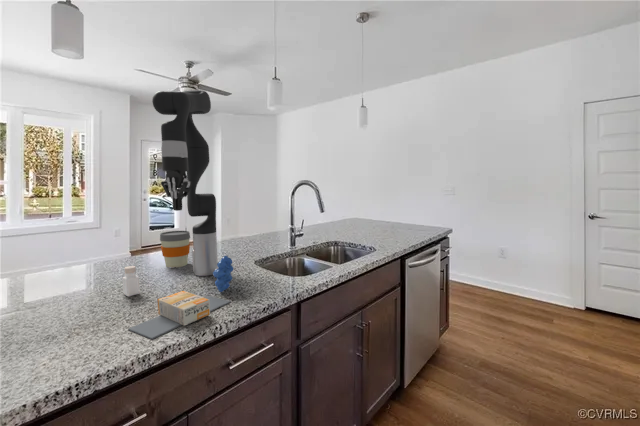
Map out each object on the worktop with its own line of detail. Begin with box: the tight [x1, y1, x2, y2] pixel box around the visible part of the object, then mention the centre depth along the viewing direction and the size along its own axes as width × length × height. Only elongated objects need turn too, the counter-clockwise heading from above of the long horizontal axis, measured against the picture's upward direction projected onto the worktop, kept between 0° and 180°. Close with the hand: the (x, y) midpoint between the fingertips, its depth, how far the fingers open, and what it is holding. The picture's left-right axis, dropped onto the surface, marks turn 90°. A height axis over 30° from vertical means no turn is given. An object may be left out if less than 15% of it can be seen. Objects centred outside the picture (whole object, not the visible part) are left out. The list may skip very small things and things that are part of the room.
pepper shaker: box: [122, 265, 141, 297], centre depth 104 cm, size 4×4×10 cm
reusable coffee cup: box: [159, 230, 191, 269], centre depth 140 cm, size 13×13×15 cm
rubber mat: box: [128, 295, 231, 340], centre depth 88 cm, size 10×26×1 cm, turn 151°
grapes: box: [213, 255, 235, 293], centre depth 108 cm, size 12×7×12 cm, turn 174°
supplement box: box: [157, 290, 211, 326], centre depth 87 cm, size 8×5×13 cm
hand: (177, 210), depth 99 cm, fingers closed
